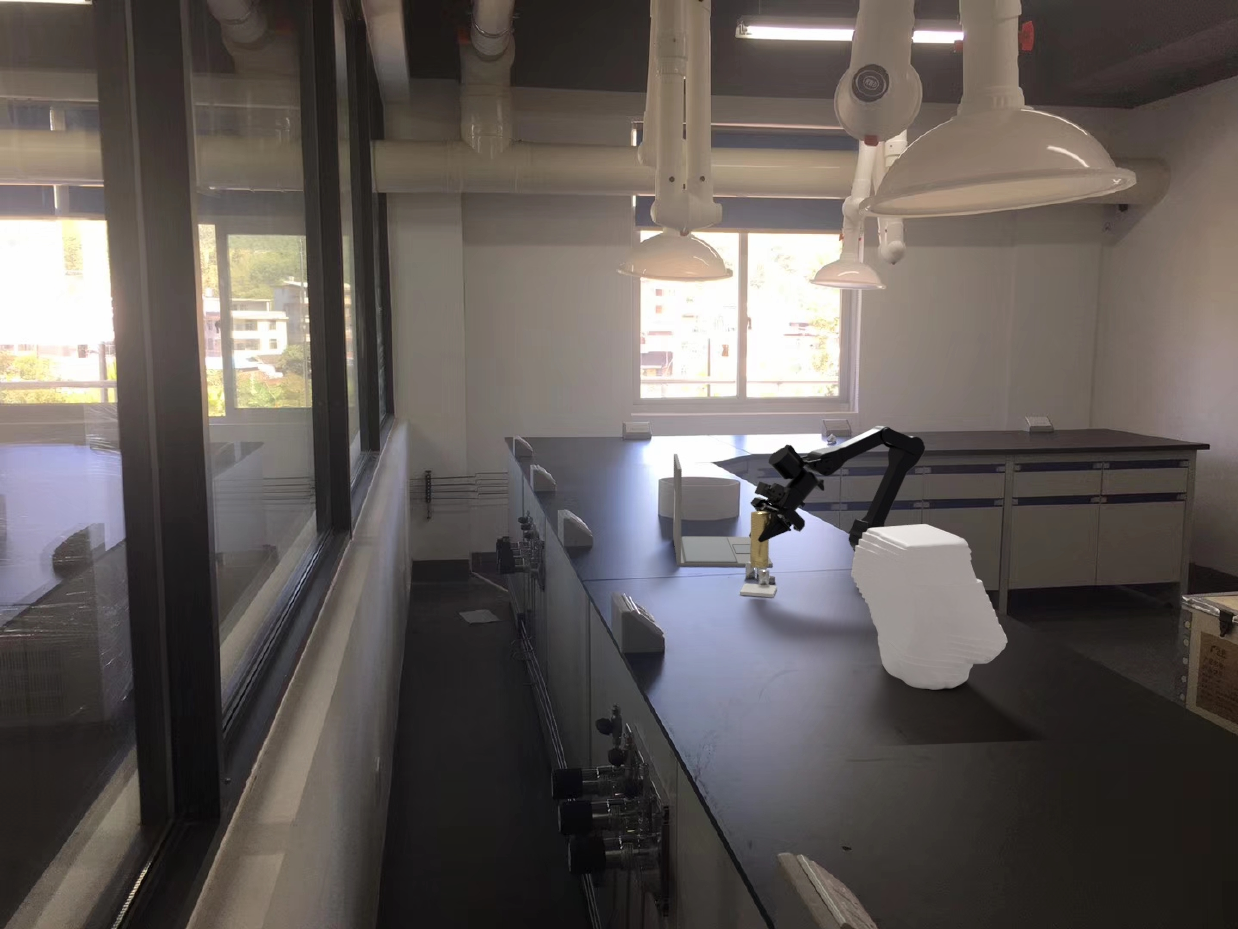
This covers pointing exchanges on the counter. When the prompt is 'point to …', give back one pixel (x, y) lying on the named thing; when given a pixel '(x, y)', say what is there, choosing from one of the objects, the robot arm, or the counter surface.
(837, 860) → the counter surface
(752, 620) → the counter surface
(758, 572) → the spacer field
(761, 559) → the brass tube
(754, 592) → the tile
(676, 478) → the laptop
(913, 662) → the paper stack
